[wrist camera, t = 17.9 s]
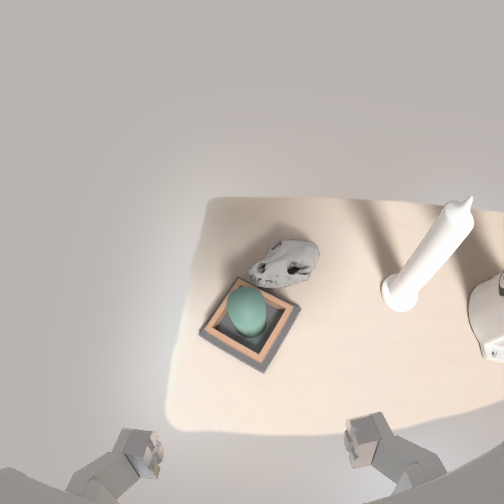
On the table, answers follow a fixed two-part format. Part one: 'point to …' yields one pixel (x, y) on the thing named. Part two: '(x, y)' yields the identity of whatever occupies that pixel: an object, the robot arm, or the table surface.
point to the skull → (284, 264)
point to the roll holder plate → (259, 348)
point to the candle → (429, 255)
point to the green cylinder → (247, 311)
